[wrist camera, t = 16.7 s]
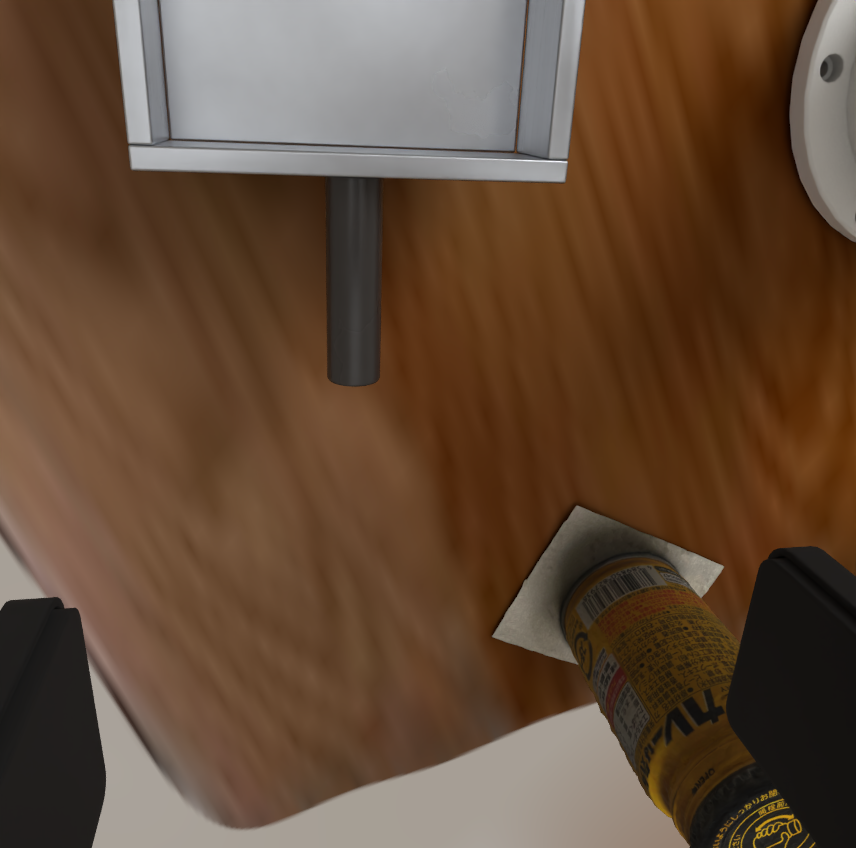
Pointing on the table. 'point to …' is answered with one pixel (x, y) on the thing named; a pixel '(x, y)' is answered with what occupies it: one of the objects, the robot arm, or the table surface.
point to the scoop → (351, 111)
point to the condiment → (654, 674)
